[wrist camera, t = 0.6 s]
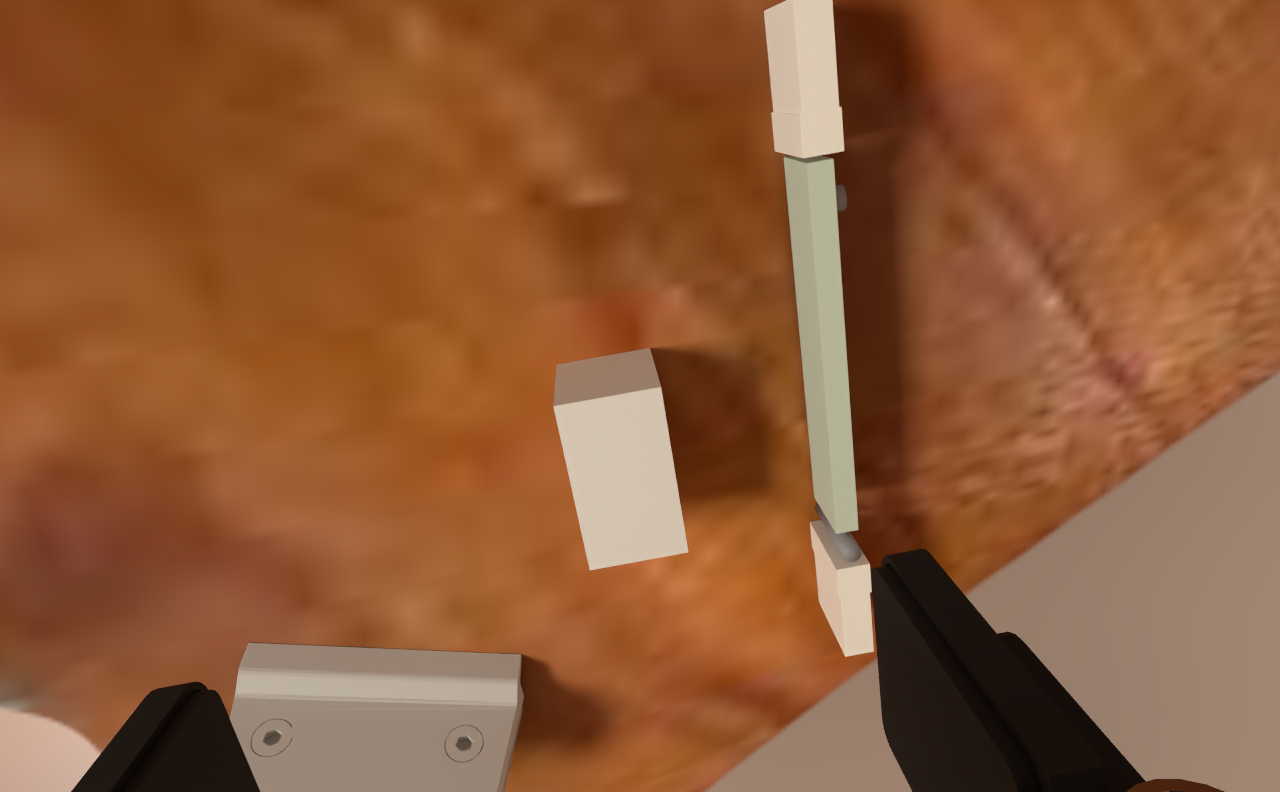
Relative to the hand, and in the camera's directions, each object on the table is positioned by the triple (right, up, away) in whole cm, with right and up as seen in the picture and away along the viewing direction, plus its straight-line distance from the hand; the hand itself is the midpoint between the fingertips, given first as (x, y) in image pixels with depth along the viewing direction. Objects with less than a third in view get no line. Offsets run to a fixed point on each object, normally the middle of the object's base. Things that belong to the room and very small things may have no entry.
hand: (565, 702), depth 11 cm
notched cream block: (+10, +7, +30) cm, 33 cm away
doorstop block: (0, +2, +32) cm, 32 cm away
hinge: (-15, -14, +37) cm, 42 cm away
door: (+11, +7, +31) cm, 33 cm away
